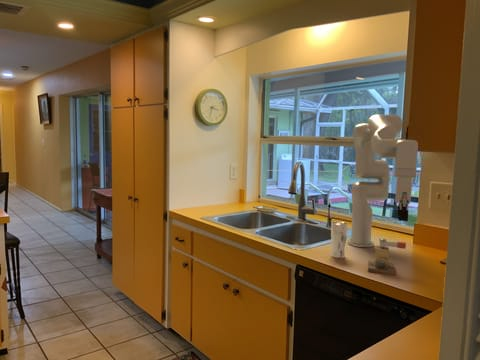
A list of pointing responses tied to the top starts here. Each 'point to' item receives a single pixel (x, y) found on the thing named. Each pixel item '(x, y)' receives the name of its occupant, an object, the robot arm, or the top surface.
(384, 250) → the valve
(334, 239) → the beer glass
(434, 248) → the top surface
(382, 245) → the valve lever
